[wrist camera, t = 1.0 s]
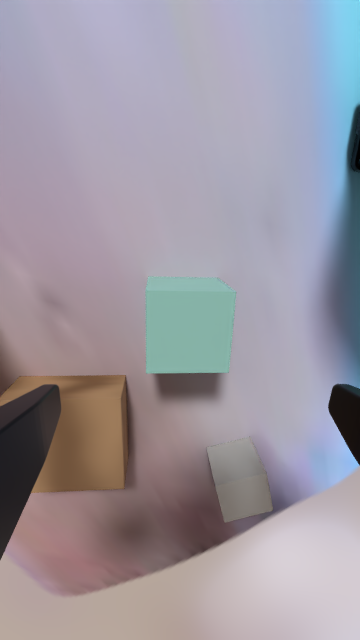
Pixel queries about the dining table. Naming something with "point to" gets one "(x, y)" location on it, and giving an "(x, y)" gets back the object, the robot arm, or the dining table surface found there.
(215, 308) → the teal cube
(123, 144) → the dining table surface
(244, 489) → the grey cube
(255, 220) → the dining table surface
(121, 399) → the tan flat block
